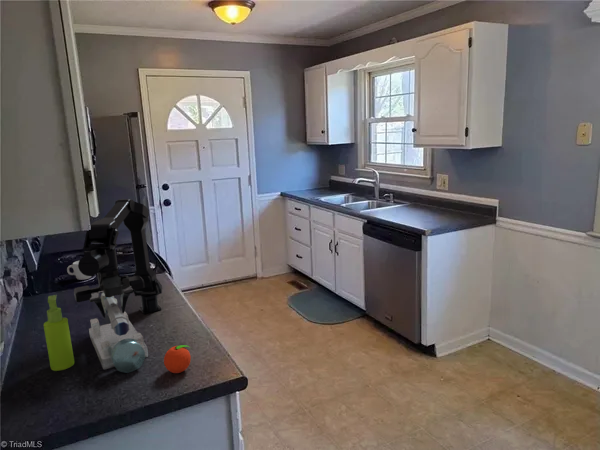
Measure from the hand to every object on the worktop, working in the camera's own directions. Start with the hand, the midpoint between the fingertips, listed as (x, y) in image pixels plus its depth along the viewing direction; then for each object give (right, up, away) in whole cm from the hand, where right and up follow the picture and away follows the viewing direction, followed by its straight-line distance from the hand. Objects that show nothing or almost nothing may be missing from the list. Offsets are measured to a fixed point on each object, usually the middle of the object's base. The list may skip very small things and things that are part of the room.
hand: (113, 315), depth 129 cm
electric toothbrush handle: (0, -2, 0) cm, 2 cm away
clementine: (+24, -12, -14) cm, 30 cm away
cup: (-46, +2, +72) cm, 86 cm away
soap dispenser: (-11, -13, -8) cm, 18 cm away
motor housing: (+2, -10, -1) cm, 11 cm away
